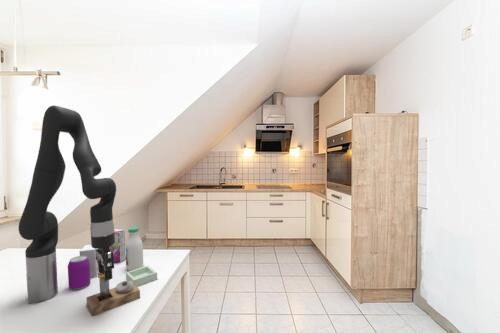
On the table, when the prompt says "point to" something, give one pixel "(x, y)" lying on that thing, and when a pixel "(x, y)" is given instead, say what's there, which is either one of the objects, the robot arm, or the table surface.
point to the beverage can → (78, 272)
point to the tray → (141, 275)
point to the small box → (90, 259)
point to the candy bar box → (118, 246)
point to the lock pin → (103, 286)
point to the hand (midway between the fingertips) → (105, 275)
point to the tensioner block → (113, 298)
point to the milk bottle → (134, 250)
